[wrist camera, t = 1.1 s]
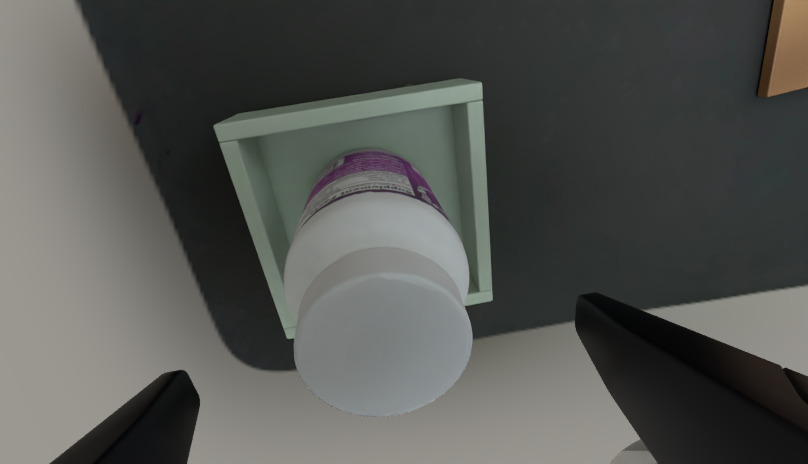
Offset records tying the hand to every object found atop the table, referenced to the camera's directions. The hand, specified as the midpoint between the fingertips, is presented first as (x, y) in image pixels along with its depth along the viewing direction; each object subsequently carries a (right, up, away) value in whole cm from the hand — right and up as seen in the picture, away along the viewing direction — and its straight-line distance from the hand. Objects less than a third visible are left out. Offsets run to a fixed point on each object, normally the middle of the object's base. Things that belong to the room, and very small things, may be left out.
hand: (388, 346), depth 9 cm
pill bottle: (-1, +4, +8) cm, 10 cm away
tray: (-1, +4, +9) cm, 10 cm away
